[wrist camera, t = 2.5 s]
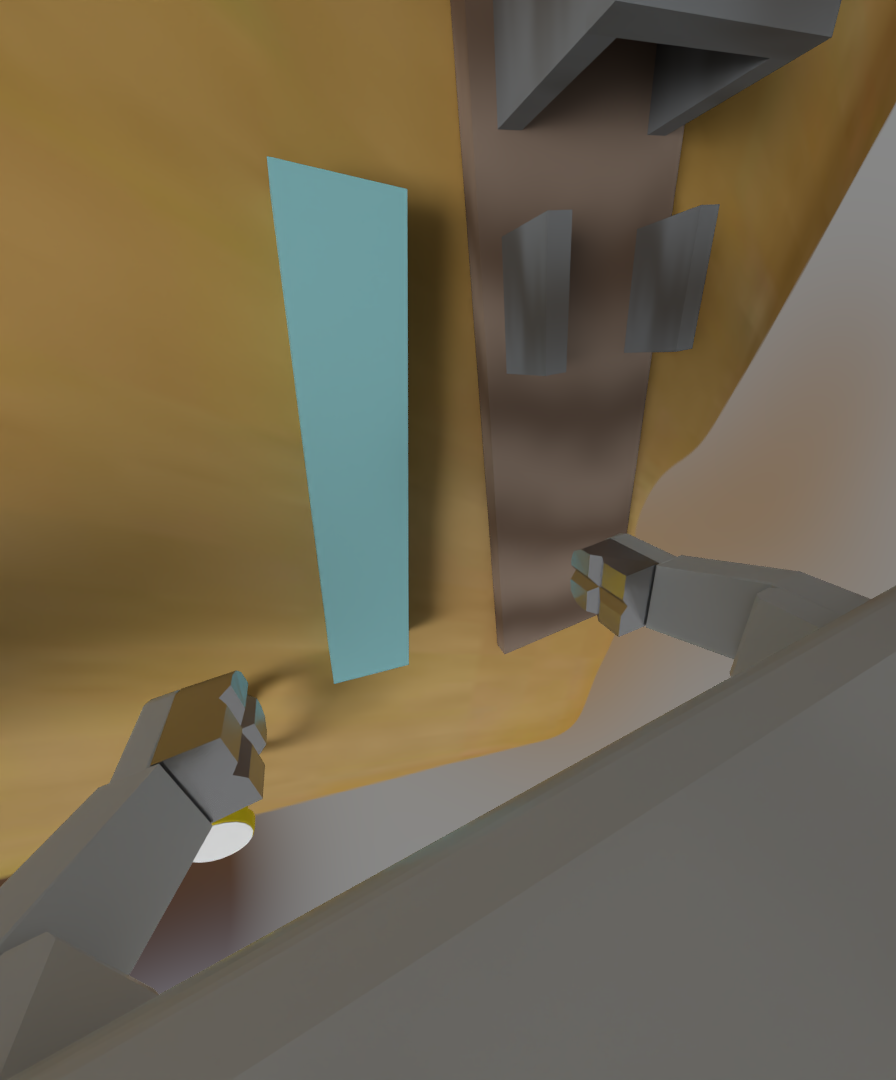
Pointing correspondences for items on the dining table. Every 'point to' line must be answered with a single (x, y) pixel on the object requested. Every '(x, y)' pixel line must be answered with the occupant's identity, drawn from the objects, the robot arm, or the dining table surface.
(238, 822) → the watch
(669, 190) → the end-cap base
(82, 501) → the dining table surface
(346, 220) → the slat
